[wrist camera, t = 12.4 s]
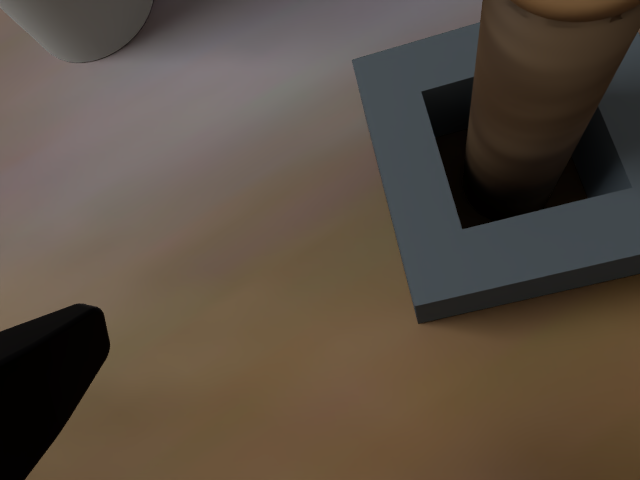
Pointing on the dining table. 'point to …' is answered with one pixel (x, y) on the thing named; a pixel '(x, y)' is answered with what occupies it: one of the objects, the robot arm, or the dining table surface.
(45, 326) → the robot arm
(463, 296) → the hole block
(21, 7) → the cylindrical container
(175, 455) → the dining table surface
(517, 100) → the tall walnut pin
